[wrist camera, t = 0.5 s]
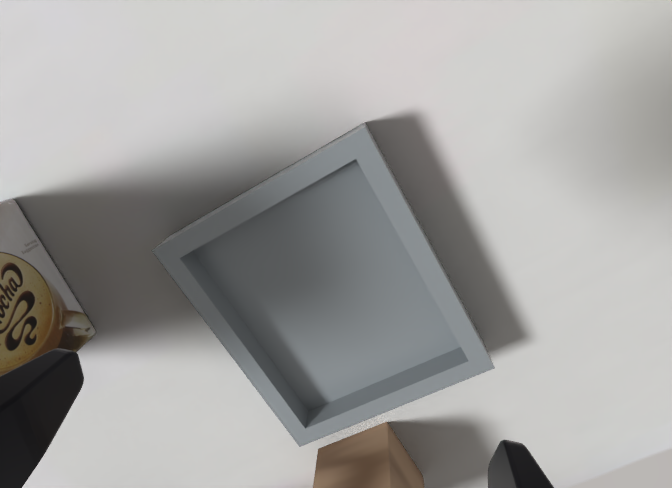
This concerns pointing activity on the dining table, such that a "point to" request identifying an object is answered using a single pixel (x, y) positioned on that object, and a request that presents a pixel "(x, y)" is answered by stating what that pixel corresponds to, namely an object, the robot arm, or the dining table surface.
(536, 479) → the robot arm
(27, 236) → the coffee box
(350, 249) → the grey tray
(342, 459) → the walnut block
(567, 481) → the dining table surface
